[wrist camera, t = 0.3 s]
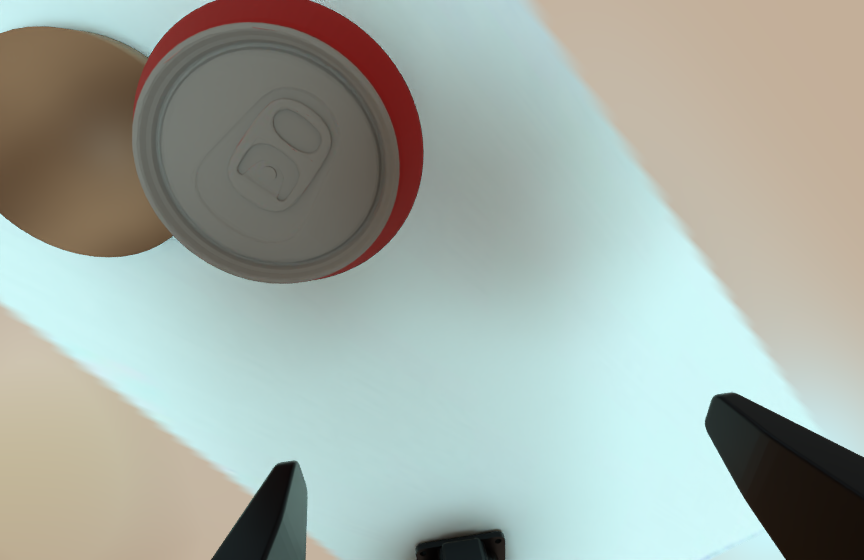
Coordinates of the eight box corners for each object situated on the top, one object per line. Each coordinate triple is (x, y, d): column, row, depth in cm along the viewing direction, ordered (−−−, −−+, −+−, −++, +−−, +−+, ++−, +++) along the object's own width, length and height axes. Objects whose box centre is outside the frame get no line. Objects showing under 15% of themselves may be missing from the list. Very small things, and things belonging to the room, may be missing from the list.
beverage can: (215, 129, 20) (30, 197, 9) (301, -9, 18) (199, -126, 7) (343, 219, 22) (318, 358, 11) (430, 105, 21) (496, 141, 10)
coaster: (254, 170, 21) (246, 177, 19) (116, 280, 22) (99, 294, 21) (81, -24, 17) (57, -32, 16) (-72, 122, 18) (-107, 127, 17)
